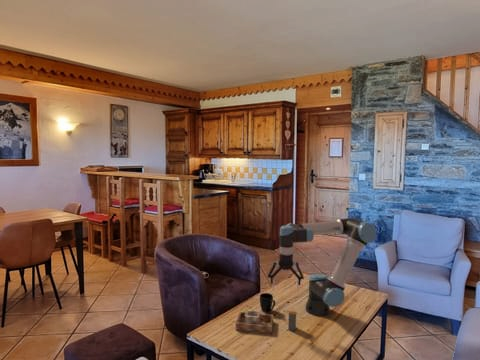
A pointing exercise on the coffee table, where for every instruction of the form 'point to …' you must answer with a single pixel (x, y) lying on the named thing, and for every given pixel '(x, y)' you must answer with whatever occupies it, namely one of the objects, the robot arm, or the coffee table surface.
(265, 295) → the mug
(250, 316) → the box
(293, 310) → the connector
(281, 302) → the coffee table surface
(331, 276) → the robot arm
